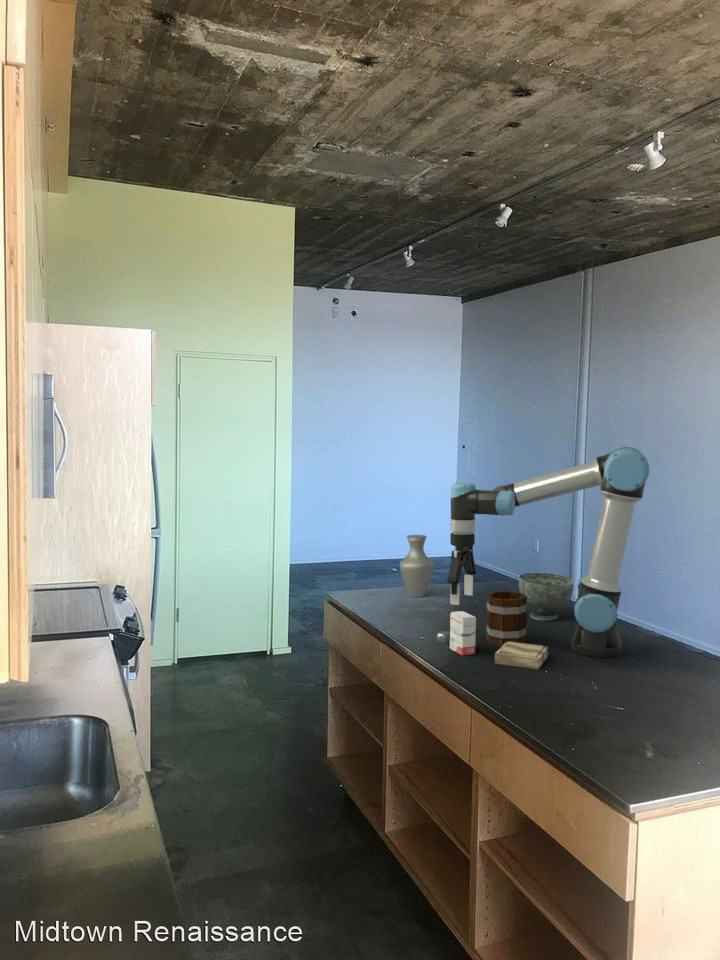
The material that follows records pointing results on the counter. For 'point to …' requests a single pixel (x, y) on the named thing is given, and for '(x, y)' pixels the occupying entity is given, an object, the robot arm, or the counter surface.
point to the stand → (521, 655)
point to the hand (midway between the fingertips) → (461, 599)
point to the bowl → (545, 592)
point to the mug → (506, 617)
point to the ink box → (462, 632)
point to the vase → (416, 567)
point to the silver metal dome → (443, 637)
